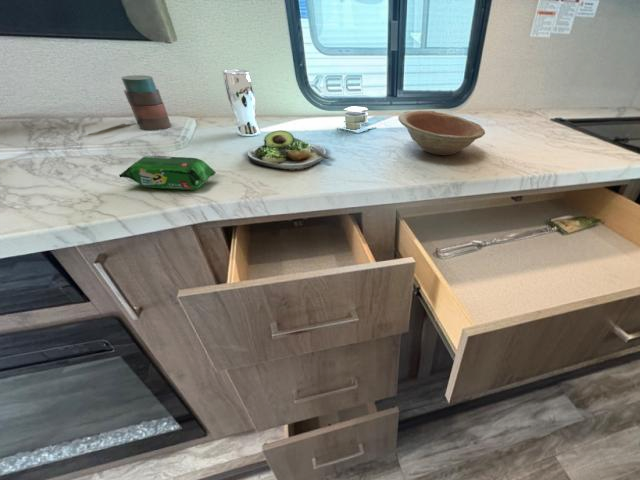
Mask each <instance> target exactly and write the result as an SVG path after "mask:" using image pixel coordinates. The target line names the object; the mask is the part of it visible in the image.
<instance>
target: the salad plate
mask: <svg viewBox="0 0 640 480" xmlns="http://www.w3.org/2000/svg"><path fill="white" fill-rule="evenodd" d="M263 142H264V143H263V145H261V146H257V147H255V148H252V149H250V150H248V151H247V153H246V156H247V158H248V159H249V160H250V161H251V162H253V164H256V165H259V166H264V167H267V168H271V169H279V168H280V170H287V169H289V170H288V171H296V170H295V169H297V170H304V168H305V169H308V167H309V168H311V167H313V166H315V165H316V164H318V163H319V162H321V161H322V160H331V156H330V155H328V154H326V153H327V152H326V151H327V150H326V149H325V147H323V146H321V145H316V144H310V143H308V142H306V141H304V140H303V141H302V140H301V139H299V138H296V137H295V136H294V135H293V133H291V132H289V131H287V130H274V131H271V132H269V133H268V134H266V135H265V136H264V139H263ZM312 165H313V166H312Z"/></svg>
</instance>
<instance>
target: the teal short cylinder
mask: <svg viewBox="0 0 640 480" xmlns="http://www.w3.org/2000/svg"><path fill="white" fill-rule="evenodd" d="M120 78H121V81H122V83H123V86H124V88H125V90H126V91H127V92H131V93H149V92H154V91H157V89H158V88H157V87H156V83H155V81H154V78H153V77H152V76H150V75H145V74H143V75H141V74H139V75H137V74H136V75H134V74H133V75H124V76H122V77H120Z"/></svg>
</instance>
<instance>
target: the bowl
mask: <svg viewBox="0 0 640 480" xmlns="http://www.w3.org/2000/svg"><path fill="white" fill-rule="evenodd" d="M397 120H398V121H399V122H400V124H401V125H402V126H403V127H404V128H406V129H407V132H408V133H409V136H410V138H411V140H413V142H415V143H416V144H417V146H418V147H420V148H421V149H422V150H423V151H425V152H427V153H429V154H431V155H436V156H437V155H438V156H451V155H454V154H456V153H458V152H460V151H462V150H464V149H467V148H468V147H470V145H472V144H473V142H475V141H476V140H478V139H481V138H482V137H483V136H484V135H486V131H485V129H484V128H483V127H482V125H480V124H479V123H477V122H474V121H472V120H468V119H466V118H464V117H461V116H456V115H452V114H449V113H444V112H438V111H434V110H409V111H405V112H402V113H400V114H398V117H397Z"/></svg>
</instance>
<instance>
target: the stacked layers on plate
mask: <svg viewBox="0 0 640 480" xmlns="http://www.w3.org/2000/svg"><path fill="white" fill-rule="evenodd" d="M343 110H344V111H347V112H345V113H343V116H344V118H345V119H344V121H343V123H345V125H346V129H350V130H357V129H360V128H361V124H364V123H365V124H366V123H368V122H369V120H368V117H367V116H368V115H369V113H368V112H367V110H368V107H363V106H354V105H353V106H348V107H345V108H343ZM340 127H341V126H339V128H340ZM337 128H338V127H336V128H335V129H336V130H340V129H339V128H338V129H337Z"/></svg>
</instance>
